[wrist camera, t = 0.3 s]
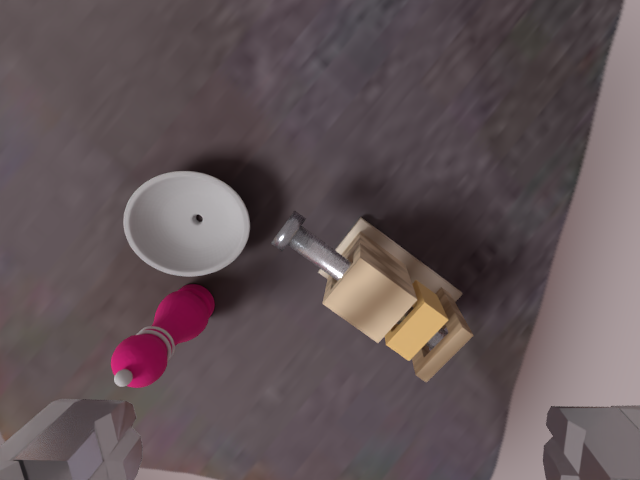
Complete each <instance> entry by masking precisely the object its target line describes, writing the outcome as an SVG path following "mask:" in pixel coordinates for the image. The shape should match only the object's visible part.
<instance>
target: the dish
mask: <svg viewBox="0 0 640 480" xmlns="http://www.w3.org/2000/svg"><path fill="white" fill-rule="evenodd" d="M198 214H199V215H201V216H202V218H203V221H202V222H199V221H198V220H197V219H196V216H197V215H198ZM124 231H125V235H126V237H127V240H128V242H129V244H130V246H131V247H132V249H133V250H134V252H135V253H136V254H137V255H138V256H139V257H140V258H141V259H142V260H143V261H145V262H146V263H147V264H149V265H150V266H152V267H154V268H156V269H158V270H160V271H162V272H165V273H168V274H172V275H178V276H201V275H206V274H210V273H213V272H216V271H218V270H220V269H222V268H224V267H226V266H227V265H229V264H230V263H232V262H233V261H234V260H235V259H236V258H237V257H238V256H239V255H240V253H241V252H242V251H243V249H244V247H245V245H246V243H247V241H248V238H249V233H250V219H249V214H248V211H247V208H246V206H245V204H244V202H243V200H242V199H241V198H240V196H239V195H238V194H237V193H236V192H235V191H234V190H233V189H232V188H231V187H230V186H229V185H227V184H226V183H224V182H223V181H221V180H219V179H217V178H215V177H213V176H210V175H207V174H204V173H200V172H194V171H175V172H169V173H165V174H162V175H159V176H156V177H154V178H152V179H150V180H148V181H147V182H145V183H144V184H143V185H142V186H140V187H139V188H138V189H137V190H136V191H135V192H134V194H133V195H132V196H131V198H130V200H129V201H128V203H127V206H126V209H125V213H124Z"/></svg>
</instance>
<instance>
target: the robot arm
mask: <svg viewBox="0 0 640 480" xmlns="http://www.w3.org/2000/svg"><path fill="white" fill-rule="evenodd" d="M135 420H136V414H135V410H134V407H133V404H131V403H129V402H127V401H116V400H89V399H83V400H79V399H60V400H56V401H53V402H51V403H50V404H49V405H48V406H47V407H45V408H44V409H43V410H42V411H41V412H40V413H38V414H37V415H36V416H35V417H34V418H33V419H31V420H30V421H29V422H28V423H27V424H26V425H24V426H23V427H22V428H21V429H20V430H19V431H17V432H16V433H15V434H14V435H13V436H12V437H10V438H9V439H8V440H7V441H6V442H5V443H3V444H2V445H1V446H0V480H134V479H135V477H136V475H137V473H138V470H139V467H140V464H141V461H142V451H143V446H142V441H141V436H140V435H139V434H138V433H137V432H136V431H135V430H134V429H133V428H132V425H133V423H134V422H135ZM546 426H547V427H548V429H549V431H550V432H551V434H552V435H553V437H552V438H551V439H550V440H549V441H548V442H547V443H546V444H545V445H544V454H543V464H544V470H545V475H546V480H640V406H611V407H562V406H561V407H560V406H556V407H555V406H551V408H550V410H549V411H548V414H547V422H546Z"/></svg>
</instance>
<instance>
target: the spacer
mask: <svg viewBox="0 0 640 480" xmlns="http://www.w3.org/2000/svg"><path fill="white" fill-rule="evenodd" d="M412 285H413V288H414V291H415V294H416V297H417V301H416V302H415V303H414V304H413V305H412V307H413V308H414V309H413V310H412V311H411V312H410V313H409V314H408V315H407V316H406V317H405V318H404V320H403V321H402V322H401V323H400V324H399V325H398V324H395V325H394V326H393V327H392V328H391V330H390V331H389V332H388V333H387V334H386V335H385V341H386V345H387V346H388V347H390V348H391V349H393V350H394V351H395V352H397V353H398V354H400V355H401V356H402V357H404V358H405V359H407V360H408V361H410V360H411V359H412V358H413V357H414V356H415V355H416V354H417V352H418V351H419V350H420V349H421V348H422V347H423V346H424V345H425V344H426V343H427V342H428V341H429V340H430V339H431V338H432V337H433V336H434V335H435V334H436V333H437V332H438V331H439V330H440V329H441V327H442V326H443V325H444V324H445V323H446V322H447V321H448V320H449V319H448V317H447V315H446V313H445V311H444V309H443V307H442V305H441V303H440V300H439V298H438V296H437V295H436V294H435V293H434V292H432V291H431V290H429V289H428V288H427V287H425V286H424V285H423V284H421V283H420V282H419V281H417V280H415V281H414V283H413V284H412Z"/></svg>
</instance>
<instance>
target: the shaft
mask: <svg viewBox="0 0 640 480" xmlns="http://www.w3.org/2000/svg"><path fill="white" fill-rule="evenodd" d="M305 219H306V218H304V217H303V216H302V215H300V214H299V213H297V212H296V211H294V213H293V214H292V215H291V216H290V218H289V219H288V221H287V222H286V223H285V225H284V226H283V227H282V229H281V230H280V231H279V233H278V234H277V236H276V237H275V238H274V240H273V241H272V243H271V244H273V245H274V246H275V247H277V248H278V249H280V250H281V251H283V250H284V248H285V247H286V246H287V245H288V246H290V247H291V248H293V249H294V250H295V251H297V252H298V253H300V254H301V255H302V256H304V257H305V258H306V259H308V260H309V261H311V262H312V263H313V264H315V265H316V266H318V267H319V268H320V269H322V270H323V271H324V272H326V273H327V274H329V275H330V276H331V277H333V278H334V279H336V280H337V281H338V280H339V279H340V278H341V277H342V275H343V274H344V273H345V272H346V271H347V269H348V268H349V267H350V266H351V264H352V262H350V261H349V260H348V259H346V258H345V257H343V256H342V255H341V254H339V253H338V252H337V251H335V250H334V249H332V248H331V247H330V246H328V245H327V244H326V243H324V242H323V241H321V240H320V239H319V238H317V237H316V236H315V235H313V234H312V233H311V232H309V231H308V230H306V229H305V228H304V227H302V226H301V225H302V224H303V222H304V221H305ZM413 309H414V308H413V307H412V306H411V308H410V309H409V310H408V311H407V312H406V313H405V314H404V315H403V316H402V317H401V319H400V320H399V321H398V322H397V323H396V324H398V325H399V324H400V323H401V322H402V321H403V320H404V318H405V317H406V316H407V315H408V314H409V313H410V312H411V311H412V310H413ZM447 334H448V332H446V331H445V330H443V329H442V328H441V329H440V330H439V331H438V332H437V333H436V334H435V335H434V336H433V337H432V338H431V339H430V340H429V341H428V342H427V343H426V345H427V346H428V347H430V348H431V349H433V348H434V347H435V346H436V345H437V344H438V343H439V342H440V341H441V340H442V339H443V338H444V337H445V336H446V335H447Z"/></svg>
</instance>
